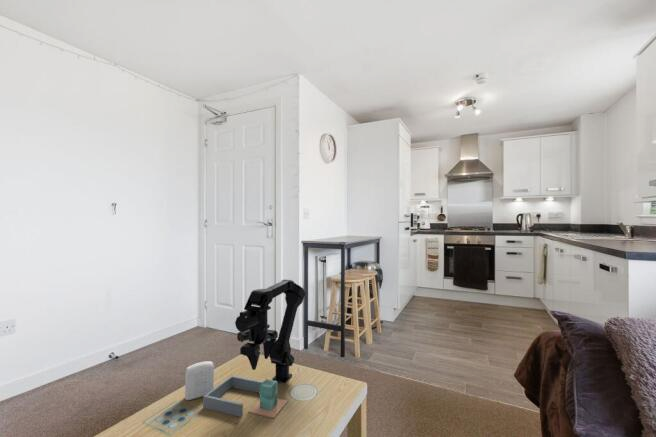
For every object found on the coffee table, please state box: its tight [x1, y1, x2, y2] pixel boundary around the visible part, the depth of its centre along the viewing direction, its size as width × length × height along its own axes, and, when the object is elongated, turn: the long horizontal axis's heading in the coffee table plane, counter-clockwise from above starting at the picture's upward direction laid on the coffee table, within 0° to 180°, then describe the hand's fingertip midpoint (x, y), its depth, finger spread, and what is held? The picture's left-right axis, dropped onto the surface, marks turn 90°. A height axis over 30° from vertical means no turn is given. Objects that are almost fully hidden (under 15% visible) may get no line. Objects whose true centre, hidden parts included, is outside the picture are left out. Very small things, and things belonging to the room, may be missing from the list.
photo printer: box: [184, 360, 215, 401], centre depth 116 cm, size 10×4×12 cm, turn 123°
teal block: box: [259, 378, 278, 411], centre depth 108 cm, size 4×4×8 cm
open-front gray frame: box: [202, 375, 265, 418], centre depth 113 cm, size 16×16×4 cm
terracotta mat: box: [248, 398, 288, 419], centre depth 108 cm, size 10×10×1 cm
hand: (260, 364), depth 116 cm, fingers open, 9 cm apart
